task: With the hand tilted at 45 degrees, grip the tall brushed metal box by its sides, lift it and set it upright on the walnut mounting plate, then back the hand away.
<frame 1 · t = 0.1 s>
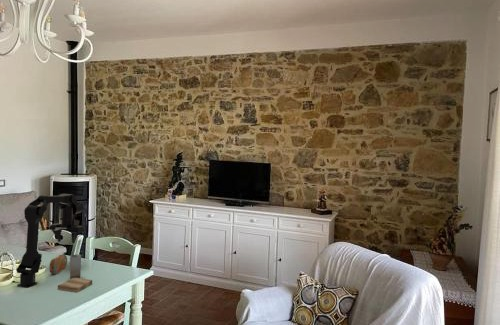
hand: (66, 242, 221), 15 cm above the table, tool pointing down, fingers open, 9 cm apart
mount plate: (75, 286, 195), on the table
tin: (58, 271, 215), on the table
brushed metal box: (74, 279, 205), on the table
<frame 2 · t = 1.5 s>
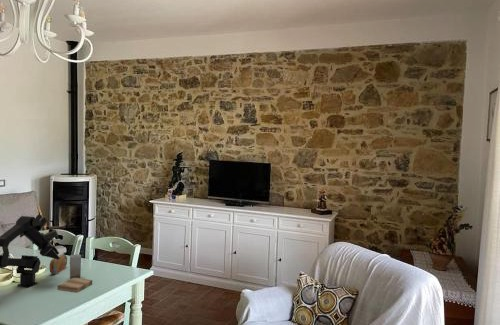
hand: (58, 256, 201), 13 cm above the table, tool tilted 45°, fingers open, 9 cm apart
nothing on the table moved.
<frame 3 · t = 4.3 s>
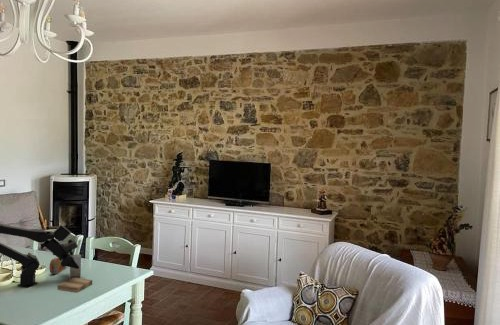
hand: (78, 266, 205), 7 cm above the table, tool tilted 45°, fingers closed on brushed metal box, 5 cm apart
brushed metal box: (74, 278, 205), on the table, touching gripper
everything else where it was.
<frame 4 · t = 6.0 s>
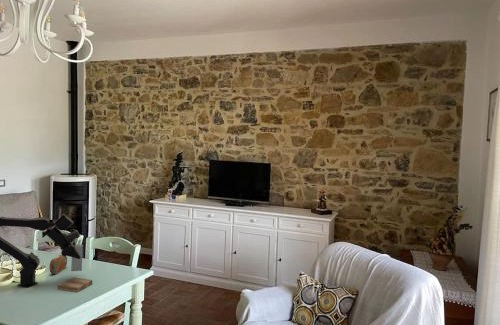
hand: (80, 256, 202), 13 cm above the table, tool tilted 45°, fingers closed on brushed metal box, 5 cm apart
brushed metal box: (76, 269, 202), point 6 cm above the table, touching gripper
everything else where it was.
when the fingers open (10 cm above the table, at t = 7.6 s): brushed metal box drops 1 cm, resting on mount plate.
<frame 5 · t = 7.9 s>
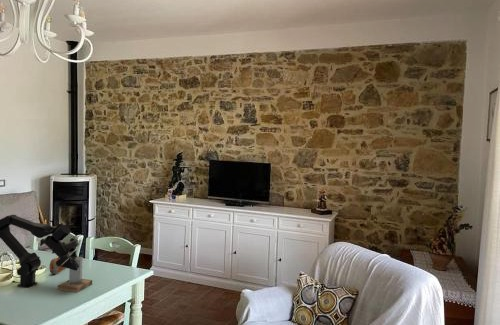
hand: (78, 267, 195), 10 cm above the table, tool tilted 45°, fingers open, 8 cm apart
brushed metal box: (75, 282, 195), point 2 cm above the table, touching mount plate
everything else where it was.
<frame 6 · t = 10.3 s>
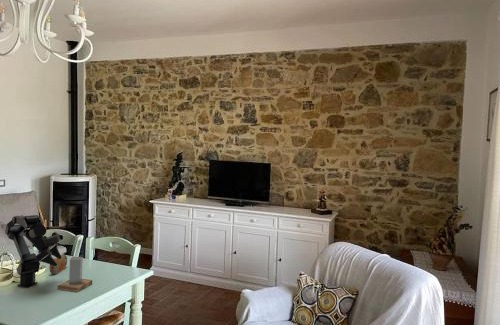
hand: (58, 261, 193), 13 cm above the table, tool tilted 40°, fingers open, 9 cm apart
nothing on the table moved.
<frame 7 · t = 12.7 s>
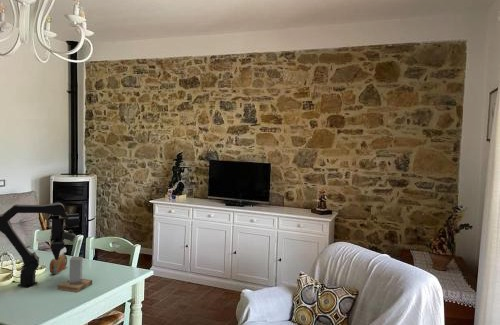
hand: (56, 257, 199), 13 cm above the table, tool pointing down, fingers open, 9 cm apart
nothing on the table moved.
at the end: brushed metal box inside the target area on the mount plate (0.1 cm from its centre), point 2.0 cm above the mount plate's base; brushed metal box tilted 0°; the gripper is holding nothing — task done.
